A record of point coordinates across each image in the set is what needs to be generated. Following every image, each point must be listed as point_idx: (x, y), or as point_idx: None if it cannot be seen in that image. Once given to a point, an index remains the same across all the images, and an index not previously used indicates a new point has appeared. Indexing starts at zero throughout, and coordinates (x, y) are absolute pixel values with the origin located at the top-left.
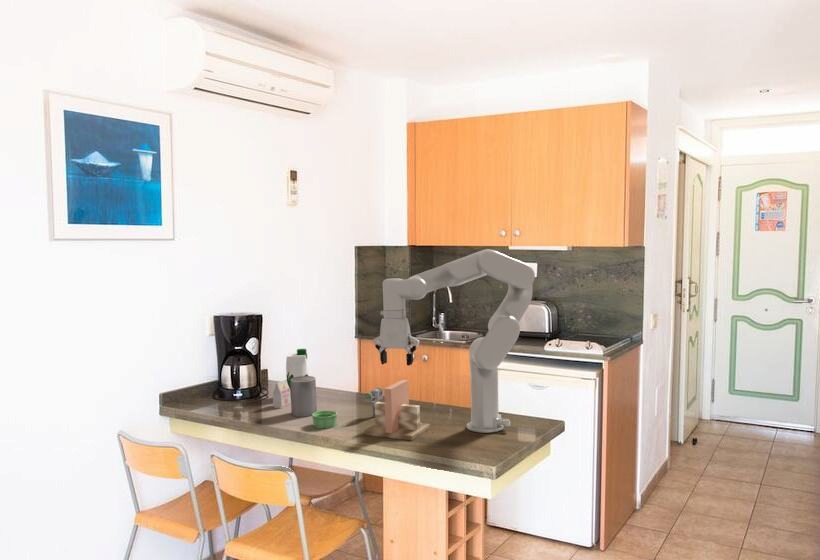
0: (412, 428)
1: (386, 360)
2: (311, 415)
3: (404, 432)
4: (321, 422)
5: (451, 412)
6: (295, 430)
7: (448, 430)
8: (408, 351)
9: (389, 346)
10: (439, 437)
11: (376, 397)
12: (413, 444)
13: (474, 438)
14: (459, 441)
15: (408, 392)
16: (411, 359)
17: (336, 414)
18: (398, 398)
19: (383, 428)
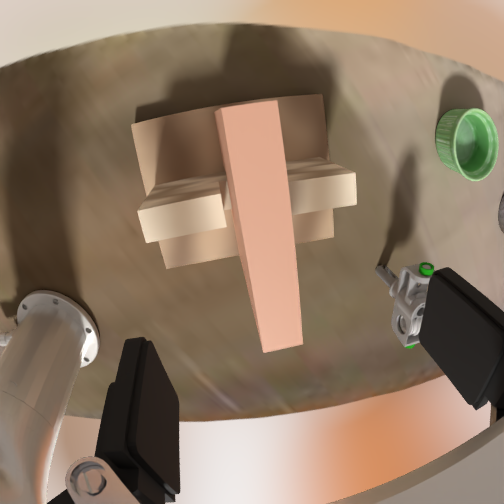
0: (172, 183)
1: (430, 343)
2: (501, 200)
3: (178, 140)
4: (460, 109)
5: (213, 391)
6: (482, 77)
7: (108, 270)
8: (109, 493)
9: (501, 458)
10: (84, 199)
11: (403, 298)
12: (108, 93)
13: (17, 245)
14: (25, 201)
15: (253, 311)
16: (107, 409)
17: (454, 153)
18: (233, 200)
19: None
